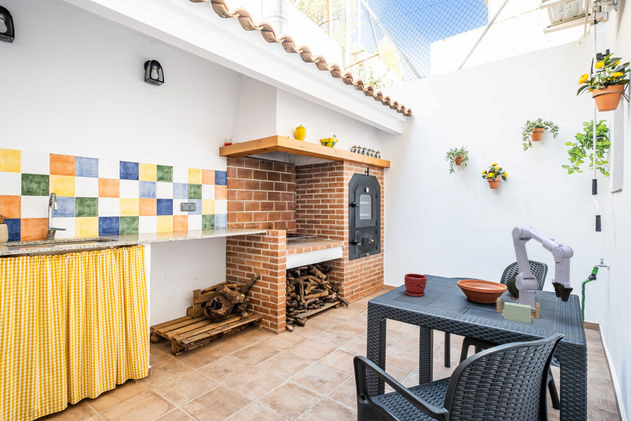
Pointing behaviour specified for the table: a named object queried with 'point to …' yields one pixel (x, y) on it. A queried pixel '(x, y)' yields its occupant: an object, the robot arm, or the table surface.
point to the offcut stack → (531, 316)
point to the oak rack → (533, 313)
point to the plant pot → (415, 284)
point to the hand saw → (514, 298)
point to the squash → (513, 286)
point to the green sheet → (517, 312)
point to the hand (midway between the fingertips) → (561, 299)
